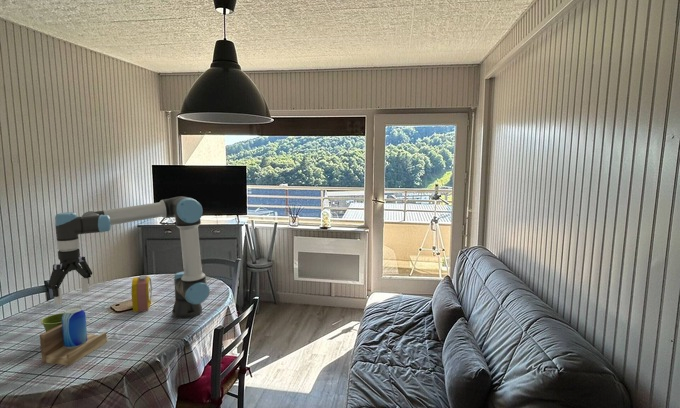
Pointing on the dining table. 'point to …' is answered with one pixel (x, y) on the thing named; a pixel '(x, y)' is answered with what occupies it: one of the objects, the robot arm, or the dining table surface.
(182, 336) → the dining table surface
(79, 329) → the beer can
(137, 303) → the alarm clock
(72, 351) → the cleat board
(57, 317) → the plant pot
